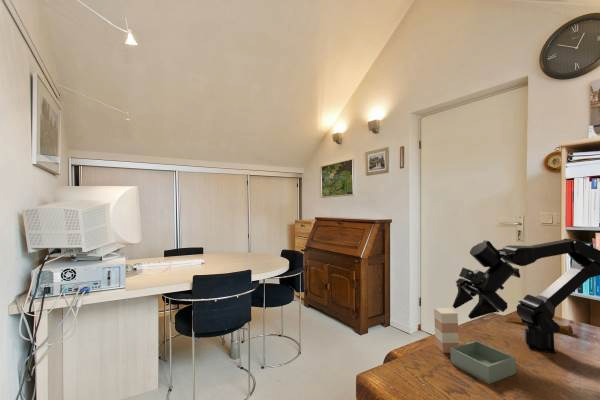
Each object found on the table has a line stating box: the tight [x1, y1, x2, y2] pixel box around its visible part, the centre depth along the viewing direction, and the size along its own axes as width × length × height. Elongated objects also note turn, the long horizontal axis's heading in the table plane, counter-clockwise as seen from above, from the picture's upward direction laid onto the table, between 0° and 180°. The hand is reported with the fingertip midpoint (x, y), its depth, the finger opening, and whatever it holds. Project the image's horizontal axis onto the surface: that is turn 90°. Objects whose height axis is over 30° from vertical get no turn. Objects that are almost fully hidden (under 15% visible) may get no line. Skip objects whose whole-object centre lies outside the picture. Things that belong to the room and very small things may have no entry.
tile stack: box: [433, 307, 460, 354], centre depth 91 cm, size 5×5×12 cm
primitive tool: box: [505, 316, 574, 336], centre depth 107 cm, size 19×6×4 cm, turn 42°
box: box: [449, 340, 517, 385], centre depth 80 cm, size 11×11×4 cm
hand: (461, 312), depth 91 cm, fingers open, 9 cm apart
